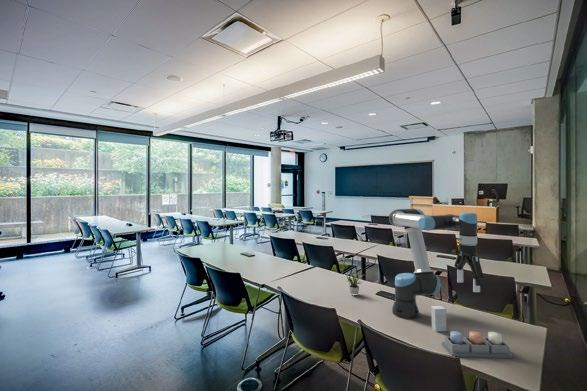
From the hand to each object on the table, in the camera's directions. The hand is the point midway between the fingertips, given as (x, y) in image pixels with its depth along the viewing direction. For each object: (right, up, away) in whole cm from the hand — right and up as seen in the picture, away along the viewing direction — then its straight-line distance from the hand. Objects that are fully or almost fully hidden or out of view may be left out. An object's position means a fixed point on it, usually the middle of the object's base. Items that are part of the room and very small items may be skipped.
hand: (468, 286), depth 140 cm
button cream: (+6, -22, -10) cm, 25 cm away
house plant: (-41, -27, +65) cm, 81 cm away
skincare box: (-9, -27, +11) cm, 30 cm away
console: (-2, -27, -9) cm, 28 cm away
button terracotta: (-2, -22, -9) cm, 24 cm away
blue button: (-11, -22, -9) cm, 26 cm away
